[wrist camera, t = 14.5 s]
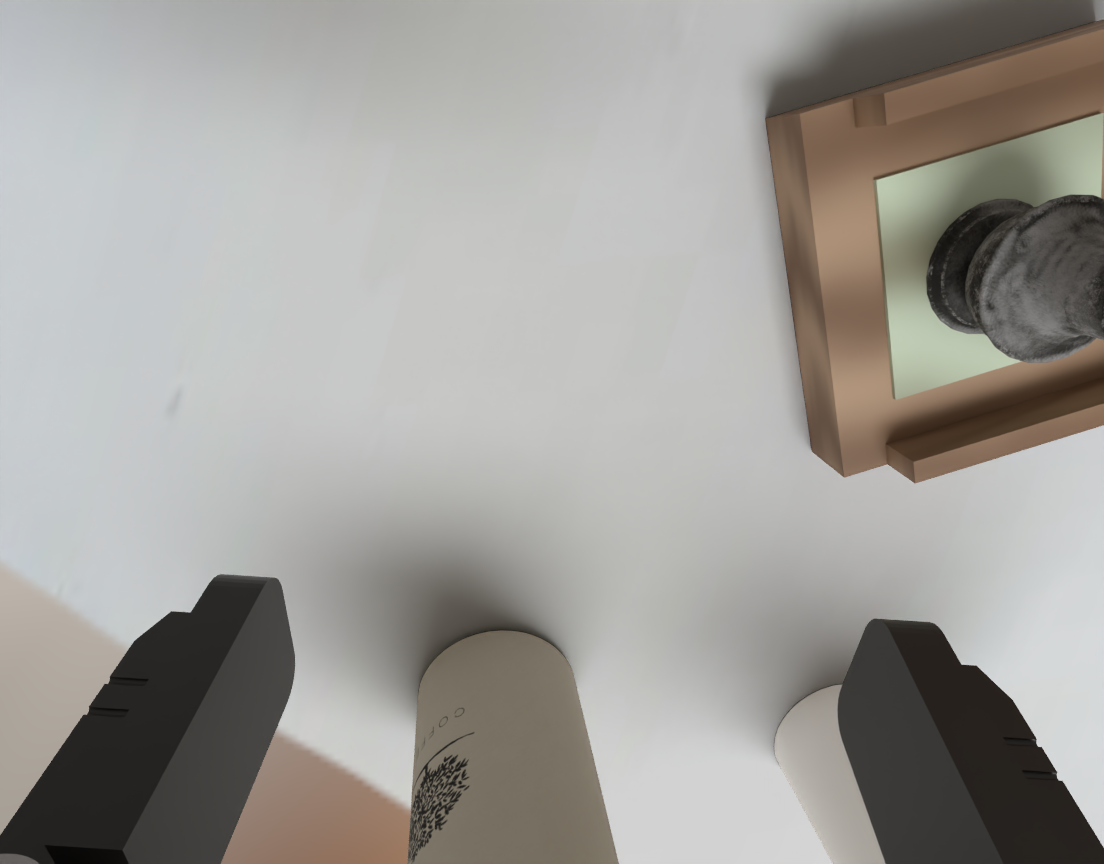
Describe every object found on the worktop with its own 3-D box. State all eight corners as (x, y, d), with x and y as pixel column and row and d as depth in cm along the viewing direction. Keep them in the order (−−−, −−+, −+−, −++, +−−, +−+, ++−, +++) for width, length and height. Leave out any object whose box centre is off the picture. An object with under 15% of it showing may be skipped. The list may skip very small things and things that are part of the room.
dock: (765, 118, 28) (827, 110, 24) (1096, 21, 29) (1221, -6, 24) (811, 451, 34) (869, 497, 29) (1088, 366, 34) (1187, 398, 30)
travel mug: (604, 689, 37) (728, 1116, 21) (490, 776, 38) (520, 1249, 22) (505, 597, 35) (555, 1004, 18) (384, 693, 36) (326, 1163, 19)
